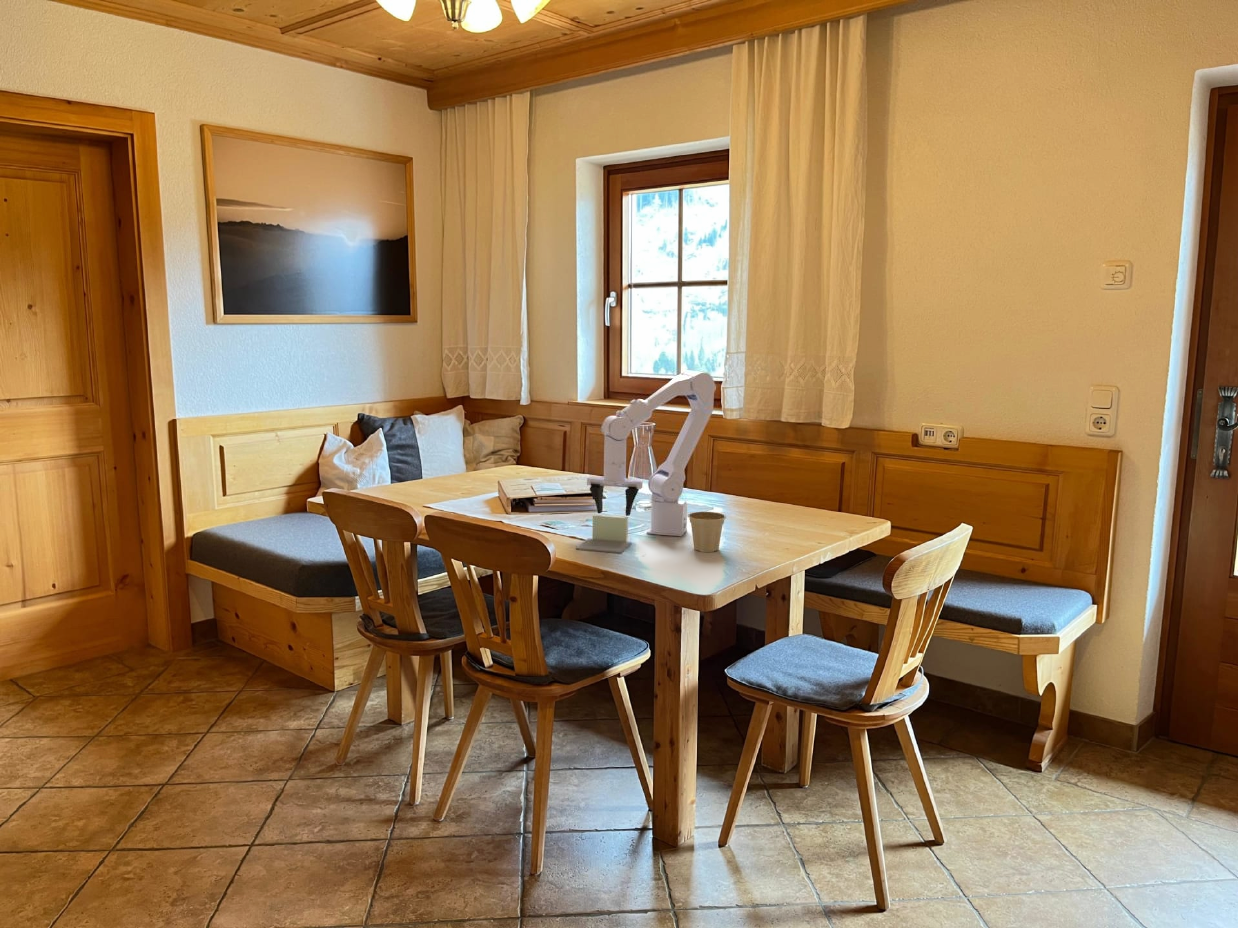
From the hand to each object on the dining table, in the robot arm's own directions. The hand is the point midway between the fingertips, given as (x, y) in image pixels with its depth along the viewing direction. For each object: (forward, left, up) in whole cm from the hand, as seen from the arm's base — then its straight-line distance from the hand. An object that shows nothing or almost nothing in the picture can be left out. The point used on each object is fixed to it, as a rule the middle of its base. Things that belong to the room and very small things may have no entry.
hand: (613, 513), depth 243 cm
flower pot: (-26, +5, -6) cm, 27 cm away
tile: (-1, +5, -6) cm, 8 cm away
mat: (-1, +11, -6) cm, 13 cm away
